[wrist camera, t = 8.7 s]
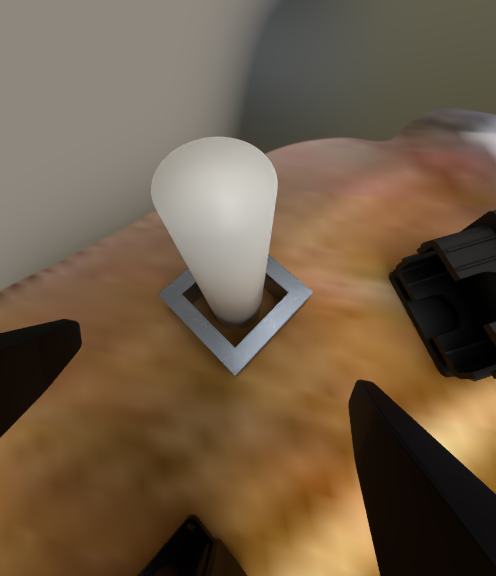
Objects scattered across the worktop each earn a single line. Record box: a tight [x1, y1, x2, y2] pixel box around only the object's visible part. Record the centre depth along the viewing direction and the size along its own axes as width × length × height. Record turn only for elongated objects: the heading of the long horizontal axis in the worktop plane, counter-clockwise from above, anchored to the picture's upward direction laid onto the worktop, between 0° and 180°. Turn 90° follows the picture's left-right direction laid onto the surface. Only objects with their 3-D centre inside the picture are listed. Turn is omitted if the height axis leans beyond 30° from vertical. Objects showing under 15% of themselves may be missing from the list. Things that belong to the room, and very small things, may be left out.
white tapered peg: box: [151, 137, 278, 329], centre depth 15 cm, size 4×4×14 cm
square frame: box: [158, 254, 313, 376], centre depth 20 cm, size 8×8×3 cm
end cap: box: [389, 210, 496, 381], centre depth 18 cm, size 10×7×7 cm
